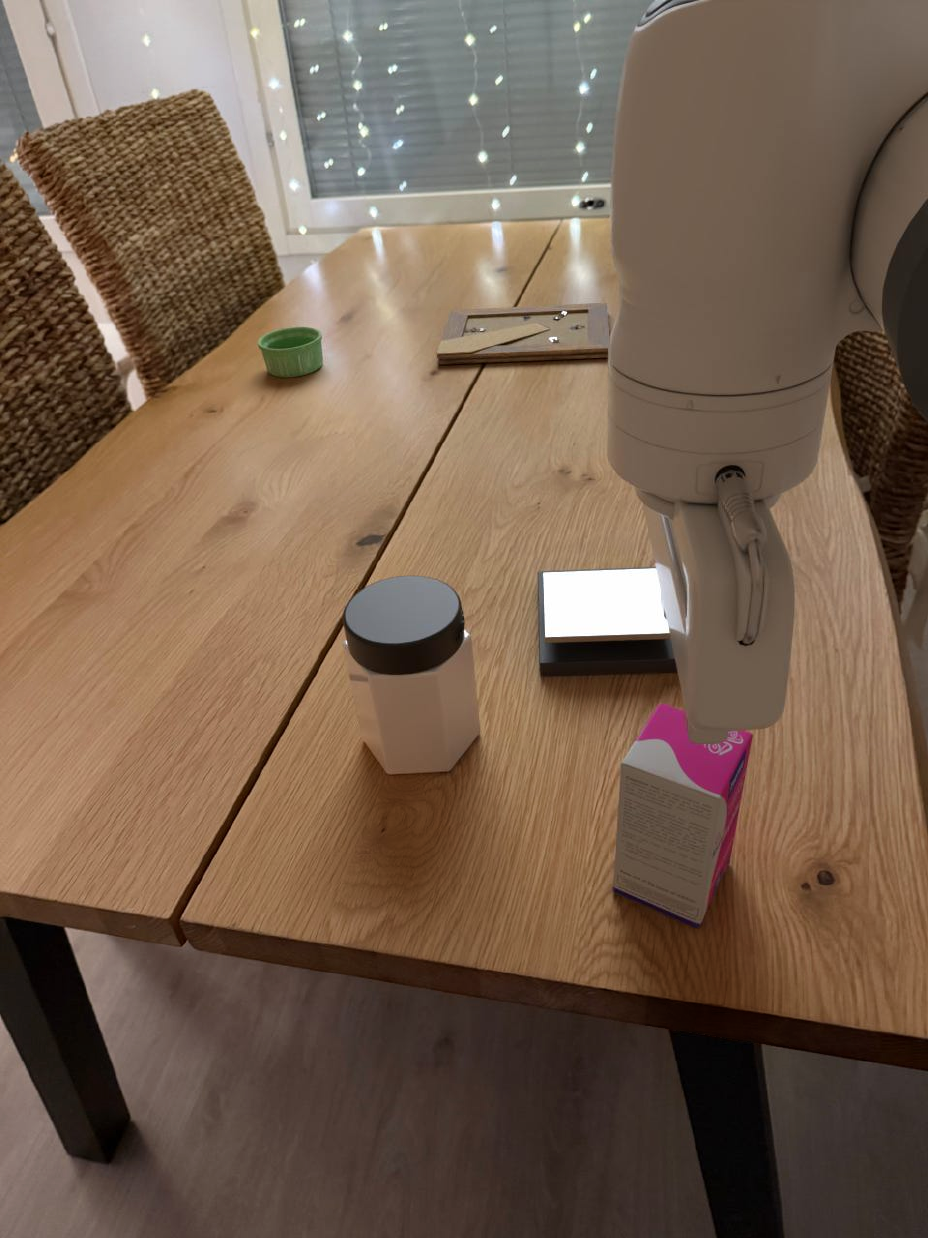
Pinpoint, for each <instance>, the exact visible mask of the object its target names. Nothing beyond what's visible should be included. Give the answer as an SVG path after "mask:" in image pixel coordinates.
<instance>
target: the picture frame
mask: <svg viewBox="0 0 928 1238" xmlns="http://www.w3.org/2000/svg"><path fill="white" fill-rule="evenodd" d="M608 313H609V312H608V302H591V303H590V302H588V303H571V304H570V303H569V304H550V305H527V306H509V307H489V308H469V309H467V308H466V309H451V310H450V312H449V316H448V318H447V322H446V325H445V328H444V331H443V335H442V336H441V340H440V341H439V344H438V348H437V349H436V350H437V351H436V359H437V360H436V363H437V365H459V364H460V365H461V364H481V363H506V362H528V361H532V362H533V361H551V360H552V361H553V360H575V359H576V360H578V359H579V360H580V359H601V358H608V346H609V339H610V328H609V314H608Z"/></svg>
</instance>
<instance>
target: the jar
mask: <svg viewBox="0 0 928 1238" xmlns="http://www.w3.org/2000/svg"><path fill="white" fill-rule="evenodd" d="M342 624H343V630H344V635H345V640H343V643H342V649H343V654H344V658H345V663H346V667H347V673H348V677H349V683H350V686H351V687H350V688H351V692H352V697H353V701H354V707H355V713H356V717H357V722H358V727H359V730H360V735H361V739H362V741H363V742H364V743H365V745H366V746H367V748H368V749H369V750H370V752H371V753H372V755H373V756H374V758H375V759H376V760H377V762H378V763H379V765H380V766H381V767H382V769H383V770H384V772H385V773H386V774H387V775H407V774H408V775H409V774H427V773H428V774H429V773H448V772H450V771H452V769H453V768H454V767H455V765H456V764H457V763H458V761H459V760H460V759H461V758H462V756H463V755H464V754H465V753H466V751H467V750H468V748H469V747H470V746H471V745H472V744H473V743H474V741H475V740H476V738H478V736H479V735H480V733H481V723H480V711H479V701H478V692H477V691H478V690H477V681H476V672H475V671H476V670H475V662H474V661H475V660H474V650H473V640H472V635H471V634H470V632H468V631H467V629H465V625H466V623H465V614H464V609H463V605H462V600H461V597H460V595H459V594H458V592H457V591H456V590H455V589H454V588H453V587H452V586H451V585H449V584H448V583H446V582H444V581H442V580H439V579H437V578H434V577H430V576H422V575H401V576H400V575H399V576H392V577H389V578H385V579H381V580H379V581H378V580H377V581H375V582H373V583H371V584H369V585H367V586H365V587H363V588H362V589H360V590H359V591H357V592H356V593H355V594H354V595H353V596H352V597H351V598H350V599H349V600H348V602H347V603H346V604H345V606H344V609H343V611H342Z"/></svg>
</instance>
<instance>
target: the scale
mask: <svg viewBox="0 0 928 1238" xmlns="http://www.w3.org/2000/svg"><path fill="white" fill-rule="evenodd" d="M653 568H656V566H645V567H641V566H640V567H619V568H618V567H617V568H594V569H593V568H591V569H590V568H589V569H568V570H564V569H563V570H542V571H541V570H540V571H537V609H538V610H537V612H538V654H539V655H538V657H539V663H538V664H539V676H540V677H564V676H568V677H569V676H601V675H634V674H635V675H636V674H637V675H639V674H669V673H671V674H672V673H675V674H676V673H678V671H677V667H676V662H675V657H674V652H673V647H672V643H671V639H656V640H625V641H594V642H563V643H545V624H544V590H543V573H550V572H576V571H602V570H627V569H653Z"/></svg>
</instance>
